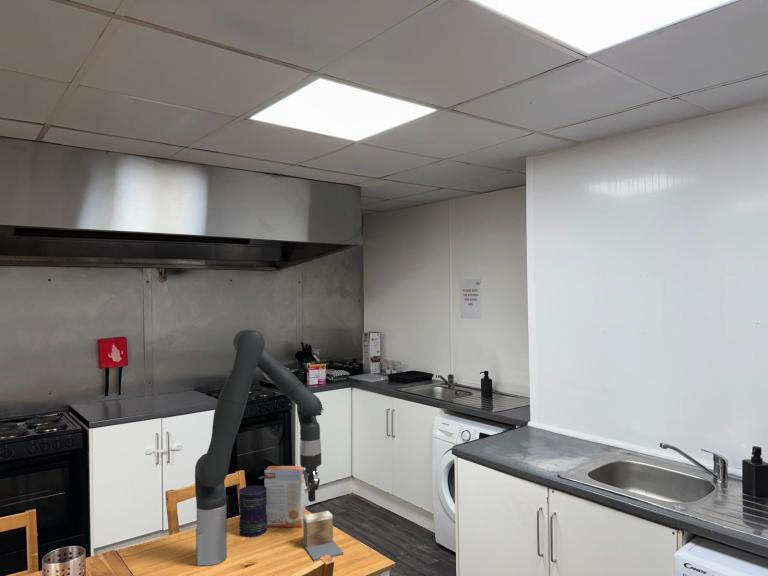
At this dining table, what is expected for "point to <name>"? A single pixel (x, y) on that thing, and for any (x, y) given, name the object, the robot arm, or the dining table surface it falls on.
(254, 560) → the dining table surface
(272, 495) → the cracker box
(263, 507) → the storage jar
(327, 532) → the brown and white block
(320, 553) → the mat
